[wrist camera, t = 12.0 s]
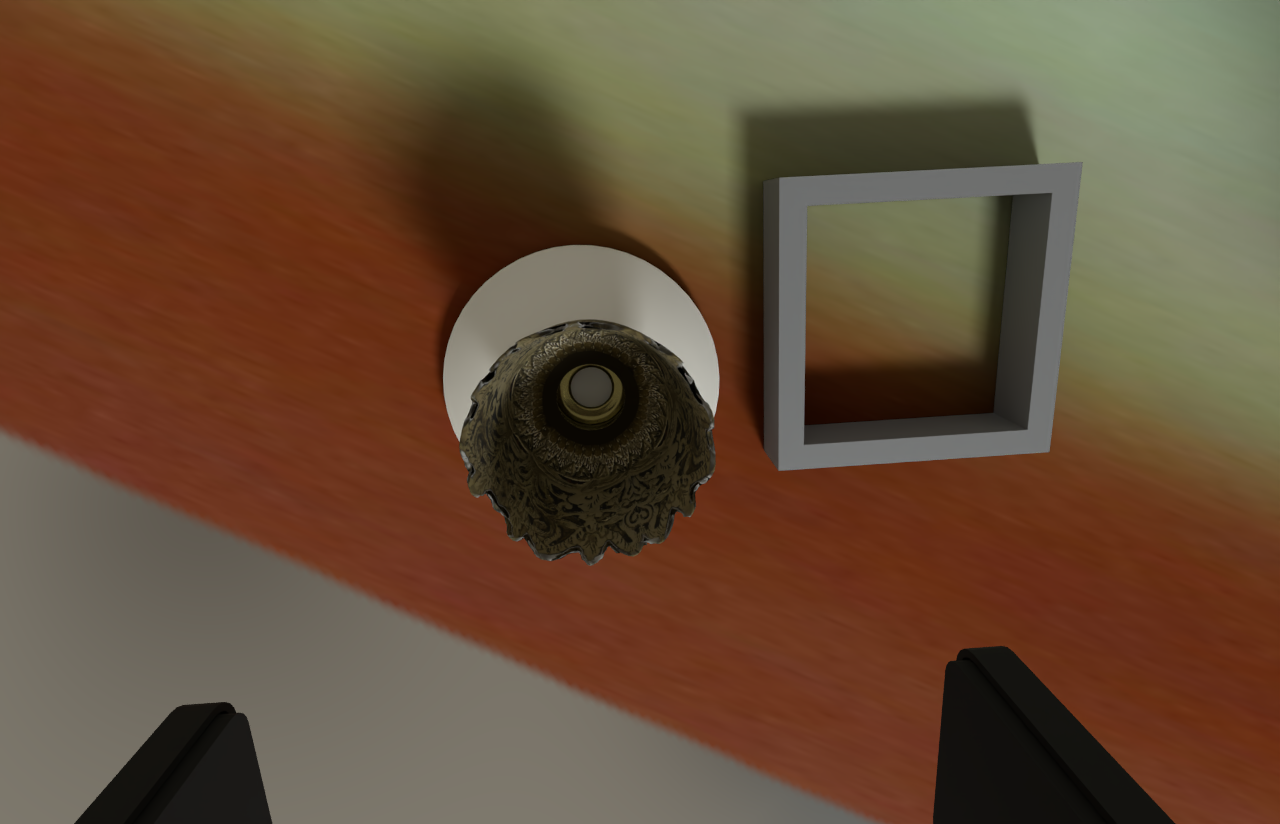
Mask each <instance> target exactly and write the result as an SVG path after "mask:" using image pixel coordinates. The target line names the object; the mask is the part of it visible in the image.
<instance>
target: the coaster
mask: <svg viewBox="0 0 1280 824" xmlns="http://www.w3.org/2000/svg"><path fill="white" fill-rule="evenodd" d="M586 319H594V320H604V321H610V322H615V323H618V324H621V325H625V326H627V327H629V328H632V329H634V330H636V331H639V332H641V333H643V334H644V335H646V336H648V337H650V338H651V339H653V340H654V341H656V342H658V343H659V344H661V345H663V346H664V347H666V348H667V349H669V350H670V351H671V352H672V353H674V354H675V355H676V356H677V357H679V358H680V359H681V360H682V361H683V367H684V368H685V369H686V370H687V372H688V373H689V375H690V376H691V377H692V378H693V380H694V381H695V385H696V387H697V389H698V391H699V393H700V395H701V396H702V398H703V399H704V401H705V402H707V403H708V404H709V406H710V408H711V410H712V413H713V416H714V415H715V412H716V406H717V401H718V395H719V369H718V359H717V355H716V350H715V346H714V342H713V340H712V337H711V334H710V331H709V329H708V326H707V324H706V323H705V321H704V319H703V317H702V315H701V313H700V311H699V310H698V308H697V307H696V306H695V304H694V303H693V301H692V300H691V299H690V297H689V296H688V295H687V294H686V293H685V292H684V291H683V290H682V289H681V287H680V286H679V285H678V284H677V283H676V282H675V281H673V280H672V279H671V278H670V277H668V276H667V275H666V274H665V273H663V272H662V271H661V270H660V269H658V268H656V267H655V266H653V265H651V264H650V263H648V262H647V261H645V260H643V259H641V258H638V257H636V256H634V255H631V254H629V253H627V252H623V251H620V250H616V249H613V248H609V247H602V246H595V245H567V246H559V247H553V248H549V249H545V250H541V251H537V252H535V253H532V254H530V255H528V256H525V257H523V258H520V259H518V260H517V261H515V262H513V263H511V264H510V265H508V266H506V267H505V268H503V269H501V270H500V271H499V272H497V273H496V274H495V275H494V276H492V277H491V278H490V279H489V280H487V281H486V282H485V283H484V284H483V285H482V286H481V287H480V288H479V289H478V290H477V291H476V293H475V294H474V295H473V296H472V297H471V299H470V300H469V302H468V303H467V304H466V306H465V307H464V308H463V310H462V312H461V314H460V316H459V318H458V319H457V321H456V323H455V325H454V328H453V330H452V333H451V336H450V339H449V341H448V345H447V350H446V355H445V359H444V372H443V385H444V397H445V402H446V407H447V412H448V415H449V418H450V421H451V424H452V427H453V430H454V432H455V434H456V436H457V438H458V440H459V442H460V437H461V432H462V427H463V424H464V420H465V419H466V417H467V415H468V413H469V411H470V408H471V405H472V400H471V395H472V393H473V391H474V390H475V388H476V387H477V385H478V383H479V382H480V380H482V379H483V378H484V377H485V376H486V375H487V374H488V373H489V369H490V367H491V366H492V365H493V364H494V363H495V362H496V360H497V359H498V358H499V357H500V356H501V355H502V354H503V353H504V352H506V351H507V350H508V349H509V348H510V347H511V346H514V345H515V343H516V342H517V341H519V340H520V339H522V338H524V337H526V336H529V335H531V334H534V333H536V332H539V331H541V330H544V329H546V328H549V327H551V326H554V325H557V324H560V323H564V322H568V321H574V320H586ZM611 391H612V384H611V380H610V378H609V377H608V375H607V374H606V373H605V372H604V371H602V370H600V369H598V368H593V367H589V368H585V369H582V370H580V371H579V372H578V373H577V374H576V375H575V376H574V377H573V379H572V382H571V392H572V395H573V397H574V399H575V400H576V401H577V402H578V403H579V404H581V405H583V406H586V407H597V406H600V405H602V404H603V403H605V402H606V401H607V400H608V398H609V397H610V394H611Z"/></svg>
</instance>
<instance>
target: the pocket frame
mask: <svg viewBox="0 0 1280 824" xmlns="http://www.w3.org/2000/svg"><path fill="white" fill-rule="evenodd" d="M1082 163H1083V162H1075V163H1056V164H1036V165H1017V166H997V167H978V168H958V169H938V170H919V171H899V172H880V173H860V174H841V175H821V176H802V177H782V178H775V179H771V180H766V181H763V248H764V451H765V452H766V454H767V455H768V457H769V458H770V459H771V461H772V462H773V464H774V465H775V466H776V468H777V469H778V471H782V470H796V469H811V468H825V467H840V466H854V465H868V464H883V463H897V462H912V461H926V460H941V459H955V458H970V457H984V456H998V455H1013V454H1027V453H1042V452H1049V451H1050V442H1051V433H1052V425H1053V416H1054V407H1055V399H1056V390H1057V381H1058V372H1059V364H1060V355H1061V346H1062V337H1063V329H1064V320H1065V311H1066V303H1067V294H1068V285H1069V276H1070V268H1071V259H1072V250H1073V241H1074V233H1075V224H1076V215H1077V206H1078V198H1079V189H1080V180H1081V172H1082ZM1000 195H1013V201H1012V212H1011V223H1010V234H1009V245H1008V256H1007V267H1006V278H1005V289H1004V301H1003V312H1002V323H1001V334H1000V345H999V356H998V367H997V378H996V389H995V401H994V412H993V413H983V414H968V415H953V416H938V417H923V418H908V419H893V420H878V421H863V422H848V423H833V424H818V425H804V400H805V326H806V252H807V206H811V205H830V204H849V203H868V202H887V201H906V200H924V199H943V198H962V197H981V196H1000Z"/></svg>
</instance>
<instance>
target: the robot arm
mask: <svg viewBox="0 0 1280 824" xmlns="http://www.w3.org/2000/svg"><path fill="white" fill-rule="evenodd" d="M74 824H272V820H271V816H270V812H269V808H268V803H267V799H266V795H265V790H264V786H263V782H262V778H261V773H260V769H259V765H258V761H257V756H256V752H255V748H254V743H253V739H252V735H251V731H250V726H249V722H248V720H247V717H246V716H245V715H244V714H243V713H236V711H235V709H234V707H233V706H232V705H231V704H230V703H227V702H219V703H205V704H192V705H182V706H179V707H177V708H176V709H175V710H173V712H171V713H170V714H169V715H168V717H167V718H166V719H165V720H164V721H163V722H162V723H161V725H160V726H159V727H158V728H157V729H156V730H155V731H154V733H153V734H152V735H151V736H150V737H149V738H148V740H147V741H146V742H145V743H144V744H143V745H142V747H141V748H140V749H139V750H138V751H137V752H136V754H135V755H134V756H133V757H132V758H131V759H130V760H129V761H128V762H127V764H126V765H125V766H124V767H123V768H122V769H121V771H120V772H119V773H118V774H117V775H116V777H114V779H113V780H112V781H111V782H110V783H109V784H108V785H107V787H106V788H105V789H104V790H103V791H102V792H101V794H100V795H99V796H98V797H97V798H96V799H95V801H94V802H93V803H92V804H91V805H90V806H89V807H88V808H87V810H86V811H85V812H84V813H83V814H82V815H81V816H80V818H79V819H78V820H77V821H76V822H75V823H74ZM933 824H1175V823H1174V822H1173V821H1172V820H1171V819H1170V818H1169V817H1168V815H1167V814H1166V813H1165V812H1164V811H1163V810H1162V809H1161V808H1160V807H1159V806H1158V805H1157V804H1156V803H1155V802H1154V801H1153V800H1152V798H1151V797H1150V796H1149V795H1148V794H1147V793H1146V792H1145V791H1144V790H1143V789H1142V788H1141V787H1140V786H1139V785H1138V784H1137V783H1136V782H1135V780H1134V779H1133V778H1132V777H1131V776H1130V775H1129V774H1128V773H1127V772H1126V771H1125V770H1124V769H1123V768H1122V767H1121V766H1120V765H1119V764H1118V762H1117V761H1116V760H1115V759H1114V758H1113V757H1112V756H1111V755H1110V754H1109V753H1108V752H1107V751H1106V750H1105V749H1104V748H1103V747H1102V746H1101V744H1100V743H1099V742H1098V741H1097V740H1096V739H1095V738H1094V737H1093V736H1092V735H1091V734H1090V733H1089V732H1088V731H1087V730H1086V729H1085V727H1084V726H1083V725H1082V724H1081V723H1080V722H1079V721H1078V720H1077V719H1076V718H1075V717H1074V716H1073V715H1072V714H1071V713H1070V712H1069V711H1068V709H1067V708H1066V707H1065V706H1064V705H1063V704H1062V703H1061V702H1060V701H1059V700H1058V699H1057V698H1056V697H1055V696H1054V695H1053V694H1052V693H1051V691H1050V690H1049V689H1048V688H1047V687H1046V686H1045V685H1044V684H1043V683H1042V682H1041V681H1040V680H1039V679H1038V678H1037V677H1036V676H1035V674H1034V673H1033V672H1032V671H1031V670H1030V669H1029V668H1028V667H1027V666H1026V665H1025V664H1024V663H1023V662H1022V661H1021V660H1020V659H1019V658H1018V656H1017V655H1016V654H1015V653H1014V652H1013V651H1011V650H1010V649H1009V648H1008V647H1004V646H996V647H982V648H968V649H963V650H961V651H960V652H959V653H958V655H957V660H956V661H950V662H948V664H947V666H946V670H945V681H944V693H943V705H942V717H941V729H940V741H939V753H938V765H937V777H936V789H935V801H934V813H933Z"/></svg>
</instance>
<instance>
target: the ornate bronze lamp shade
mask: <svg viewBox="0 0 1280 824" xmlns="http://www.w3.org/2000/svg"><path fill="white" fill-rule="evenodd" d="M589 367H593V368H598V369H600V370H602V371H604V372H605V373H606V374H607V375H608V377H609V378H610V380H611V384H612V391H611V394H610V397H609V398H608V400H607V401H606V402H605V403H603V404H602V405H600V406H597V407H586V406H583V405H581V404H579V403H578V402H577V401H576V400H575V399H574V397H573V395H572V392H571V382H572V379H573V377H574V376H575V375H576V374H577V373H578V372H579V371H580V370H582V369H585V368H589ZM471 400H472V405H471V408H470V411H469V413H468V415H467V417H466V419H465V420H464V424H463V427H462V432H461V437H460V444H459V447H460V453H461V456H462V458H463V460H464V463H465V466H466V468H467V470H468V471H469V474H468V478H467V483H468V487H469V489H470V492H471V494H472V495H473V496H475V497H479V496H480V495H481V496H483V495H484V494H487V496H488V497H489V498H490V500H491V502H492V505H493V508H494V510H496V511H497V512H499V513H501V514H502V515H503V516H504V517H505V523H506V524H507V534H508V536H509V537H510V538H511V539H512V540H513V541H520V540H521V539H523V538H524V539H525V540H526V541H527V543H528V545H529V546H530V548H531V549H532V550H533V552H534V554H535V555H536V556H537V557H538V558H540V559H542V560H548V561H553V560H557V559H560V558H563V557H564V556H566V555H567V554H570V553H577V552H579V553H580V555H581V558H582V560H584V561H585V562H586V563H587V565H590V566H591V565H594V564H595V563H597V562H598V561H599V560H601V559H602V558H603V555H604V552H605V551H606V549H607V547H608V546H610V547H611V548H612V549H613V550H614V551H615V552H616V553H620V552H621V553H623V554H625V555H628V556H635V555H637V554H638V553H640V552H641V550H642V547H643V545H647V542H648V543H650V544H653V543H657V544H660V543H662V542H663V541H665V539H666V538H667V537H668V535H669V533H670V531H671V528H672V526H673V522H674V515H675V513H676V512H677V511H678V512H681V513H682V514H683V516H684V517H686V516H687V517H691V515H692V514H693V512H694V510H695V507H696V501H695V492H696V490H697V489H698V487H699V486H700V485H702V484H704V483H706V482H707V481H708V480H709V479H710V477H711V476H712V474H713V473H714V470H715V448H714V442H713V437H712V429H713V428H714V416H713V413H712V410H711V408H710V406H709V404H708V403H707V402H705V401H704V399H703V398H702V396H701V395H700V393H699V391H698V389H697V387H696V385H695V381H694V380H693V378H692V377H691V376H690V375H689V373H688V372H687V370H686V369H685V368H684V367H683V361H682V360H681V359H680V358H679V357H677V356H676V355H675V354H674V353H672V352H671V351H670V350H669V349H667V348H666V347H664V346H663V345H661V344H659V343H658V342H656V341H654V340H653V339H651V338H650V337H648V336H646V335H644V334H643V333H641V332H639V331H636V330H634V329H632V328H629V327H627V326H625V325H621V324H618V323H615V322H610V321H604V320H594V319H586V320H574V321H568V322H564V323H560V324H557V325H554V326H551V327H549V328H546V329H544V330H541V331H539V332H536V333H534V334H531V335H529V336H526V337H524V338H522V339H520V340H519V341H517V342H516V343H515V345H514V346H511V347H510V348H509V349H508V350H507V351H506V352H504V353H503V354H502V355H501V356H500V357H499V358H498V359H497V360H496V362H495V363H494V364H493V365H492V366H491V367H490V369H489V373H488V374H487V375H486V376H485V377H484V378H483V379H482V380H480V382H479V383H478V385H477V387H476V388H475V390H474V391H473V393H472V395H471ZM676 514H677V513H676Z"/></svg>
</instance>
